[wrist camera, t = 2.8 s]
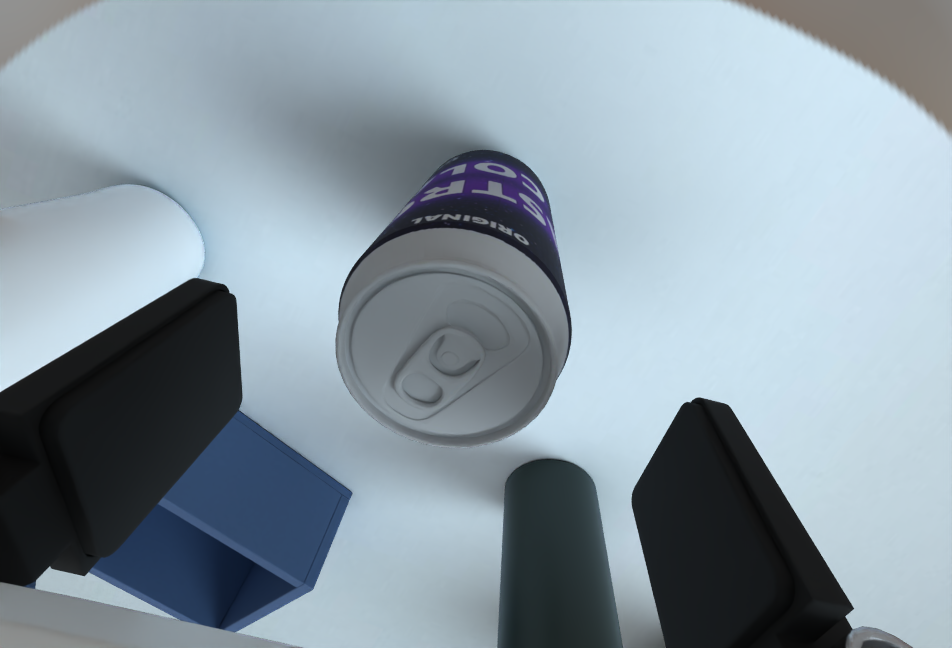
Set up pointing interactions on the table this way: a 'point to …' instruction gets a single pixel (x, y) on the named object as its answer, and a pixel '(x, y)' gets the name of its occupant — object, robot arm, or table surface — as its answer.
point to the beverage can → (459, 308)
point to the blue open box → (232, 533)
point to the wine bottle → (555, 562)
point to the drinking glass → (86, 268)
